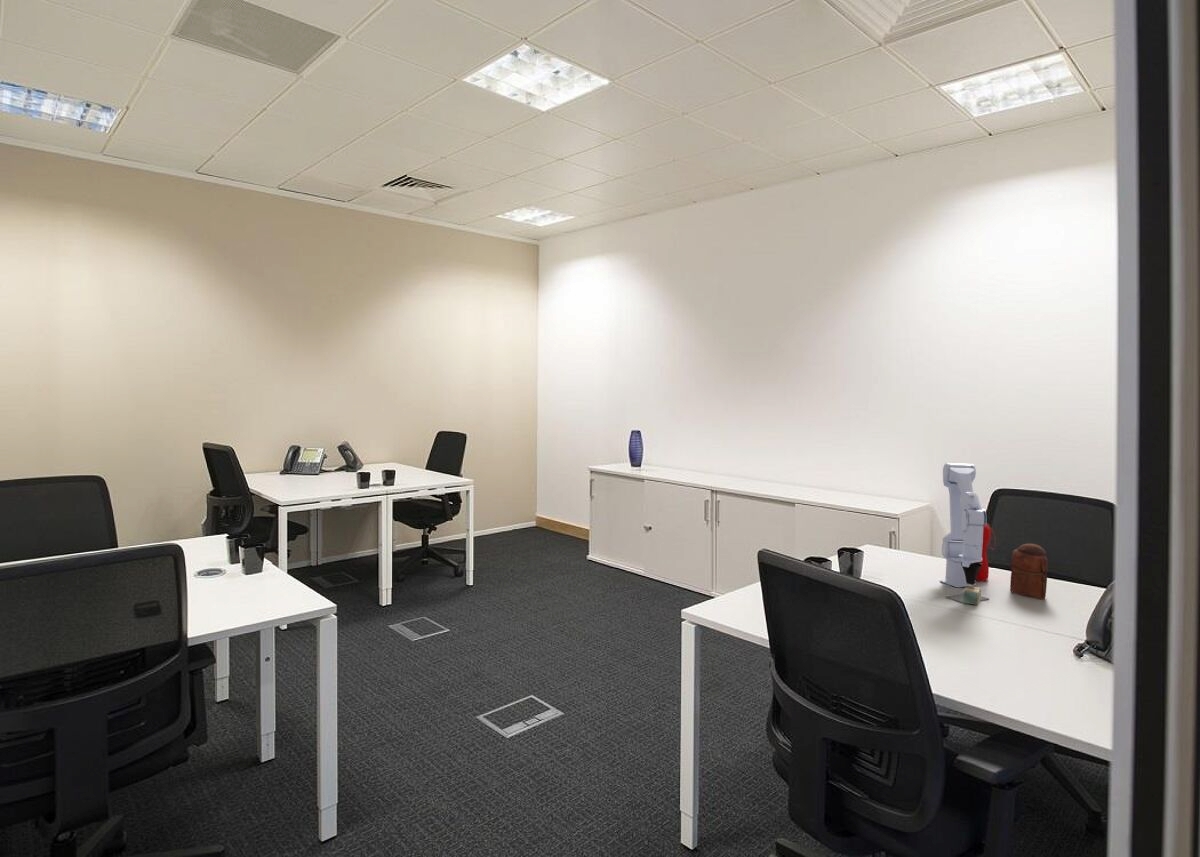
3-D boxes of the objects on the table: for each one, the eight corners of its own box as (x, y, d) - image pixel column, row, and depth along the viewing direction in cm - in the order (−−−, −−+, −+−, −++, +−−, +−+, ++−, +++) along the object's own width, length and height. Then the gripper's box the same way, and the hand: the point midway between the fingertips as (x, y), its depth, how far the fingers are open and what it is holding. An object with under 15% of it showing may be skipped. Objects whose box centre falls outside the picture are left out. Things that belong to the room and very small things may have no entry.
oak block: (967, 585, 230) (964, 590, 225) (981, 587, 228) (977, 592, 222) (967, 597, 231) (963, 602, 225) (980, 599, 228) (977, 604, 223)
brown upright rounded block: (1050, 597, 233) (1054, 545, 231) (1044, 601, 229) (1047, 548, 227) (1013, 588, 242) (1016, 539, 241) (1005, 592, 238) (1008, 541, 237)
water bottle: (993, 584, 247) (997, 516, 245) (959, 579, 253) (962, 513, 251) (993, 578, 255) (997, 512, 253) (961, 573, 260) (964, 509, 259)
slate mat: (970, 593, 236) (970, 592, 236) (989, 599, 229) (989, 598, 229) (945, 597, 231) (945, 596, 231) (963, 603, 225) (963, 602, 225)
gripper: (966, 538, 237) (964, 576, 238) (953, 545, 226) (950, 585, 227) (988, 542, 232) (986, 581, 233) (976, 549, 221) (974, 590, 222)
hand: (970, 583), depth 230 cm, fingers closed
